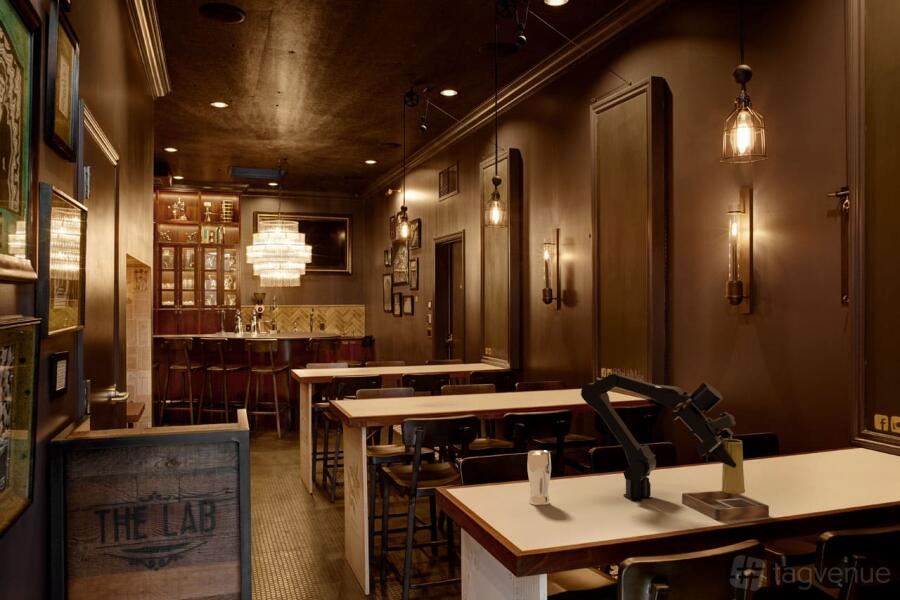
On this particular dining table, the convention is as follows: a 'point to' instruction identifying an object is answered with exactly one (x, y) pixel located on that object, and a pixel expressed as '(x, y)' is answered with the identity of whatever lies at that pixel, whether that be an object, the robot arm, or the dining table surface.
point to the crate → (706, 506)
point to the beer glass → (539, 476)
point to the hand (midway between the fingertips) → (737, 464)
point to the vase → (730, 475)
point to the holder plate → (733, 503)
